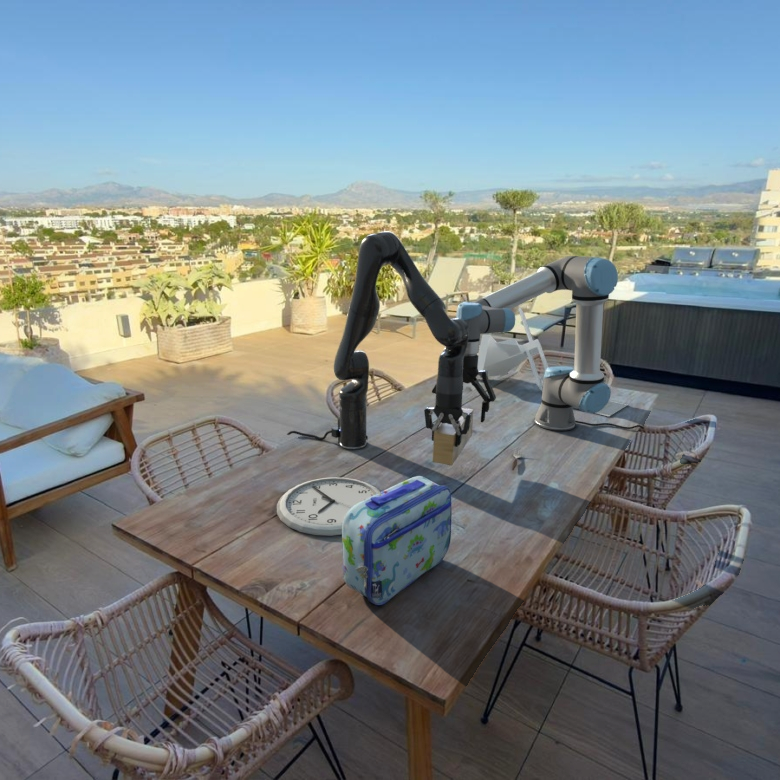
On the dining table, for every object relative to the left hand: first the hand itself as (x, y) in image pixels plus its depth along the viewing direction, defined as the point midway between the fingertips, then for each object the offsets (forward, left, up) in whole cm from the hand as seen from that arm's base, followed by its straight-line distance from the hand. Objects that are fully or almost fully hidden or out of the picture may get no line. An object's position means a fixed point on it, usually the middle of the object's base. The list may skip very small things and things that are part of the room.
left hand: (446, 443), depth 153 cm
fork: (+8, +28, -12) cm, 32 cm away
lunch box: (+20, -43, -12) cm, 49 cm away
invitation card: (+6, +104, -12) cm, 105 cm away
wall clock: (-13, -32, -12) cm, 37 cm away
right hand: (-6, +17, +2) cm, 18 cm away
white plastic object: (-40, +103, -12) cm, 111 cm away
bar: (-3, +8, -5) cm, 10 cm away
